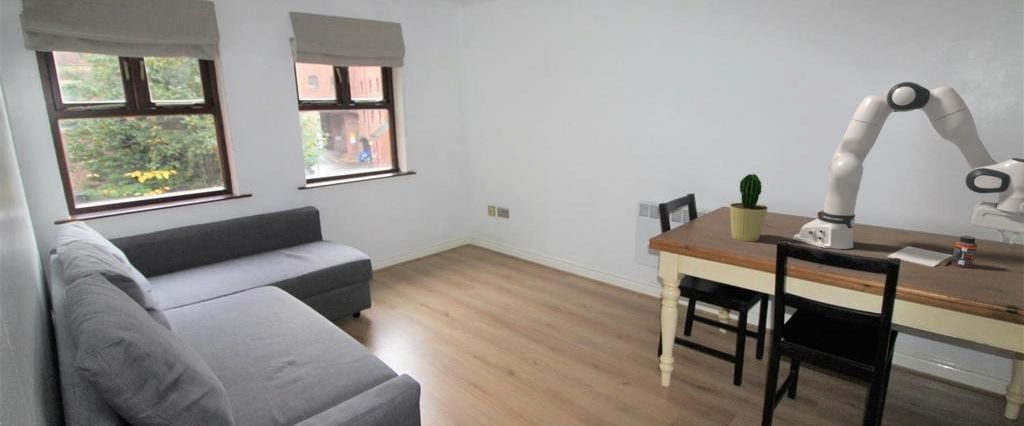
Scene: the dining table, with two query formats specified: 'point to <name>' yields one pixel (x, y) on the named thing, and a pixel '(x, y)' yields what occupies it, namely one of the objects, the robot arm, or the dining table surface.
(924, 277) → the dining table surface
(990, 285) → the dining table surface
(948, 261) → the strip
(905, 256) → the mat
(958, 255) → the supplement bottle
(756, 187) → the potted cactus
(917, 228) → the dining table surface
